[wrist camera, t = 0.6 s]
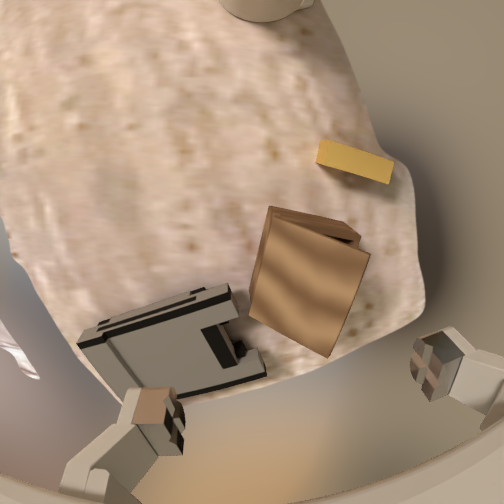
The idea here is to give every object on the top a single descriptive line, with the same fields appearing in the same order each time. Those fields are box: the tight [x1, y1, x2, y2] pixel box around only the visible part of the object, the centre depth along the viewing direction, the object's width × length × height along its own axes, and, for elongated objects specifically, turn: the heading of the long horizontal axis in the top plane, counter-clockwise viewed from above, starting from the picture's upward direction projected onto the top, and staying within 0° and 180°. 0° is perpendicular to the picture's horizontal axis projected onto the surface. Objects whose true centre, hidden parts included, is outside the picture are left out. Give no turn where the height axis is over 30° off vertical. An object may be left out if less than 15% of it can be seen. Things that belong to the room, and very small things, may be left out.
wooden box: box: [249, 206, 361, 304], centre depth 51 cm, size 16×14×8 cm
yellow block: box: [316, 140, 394, 185], centre depth 47 cm, size 4×12×5 cm, turn 78°
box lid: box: [249, 217, 371, 358], centre depth 42 cm, size 16×14×1 cm
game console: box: [76, 283, 267, 402], centre depth 56 cm, size 21×32×8 cm, turn 109°
